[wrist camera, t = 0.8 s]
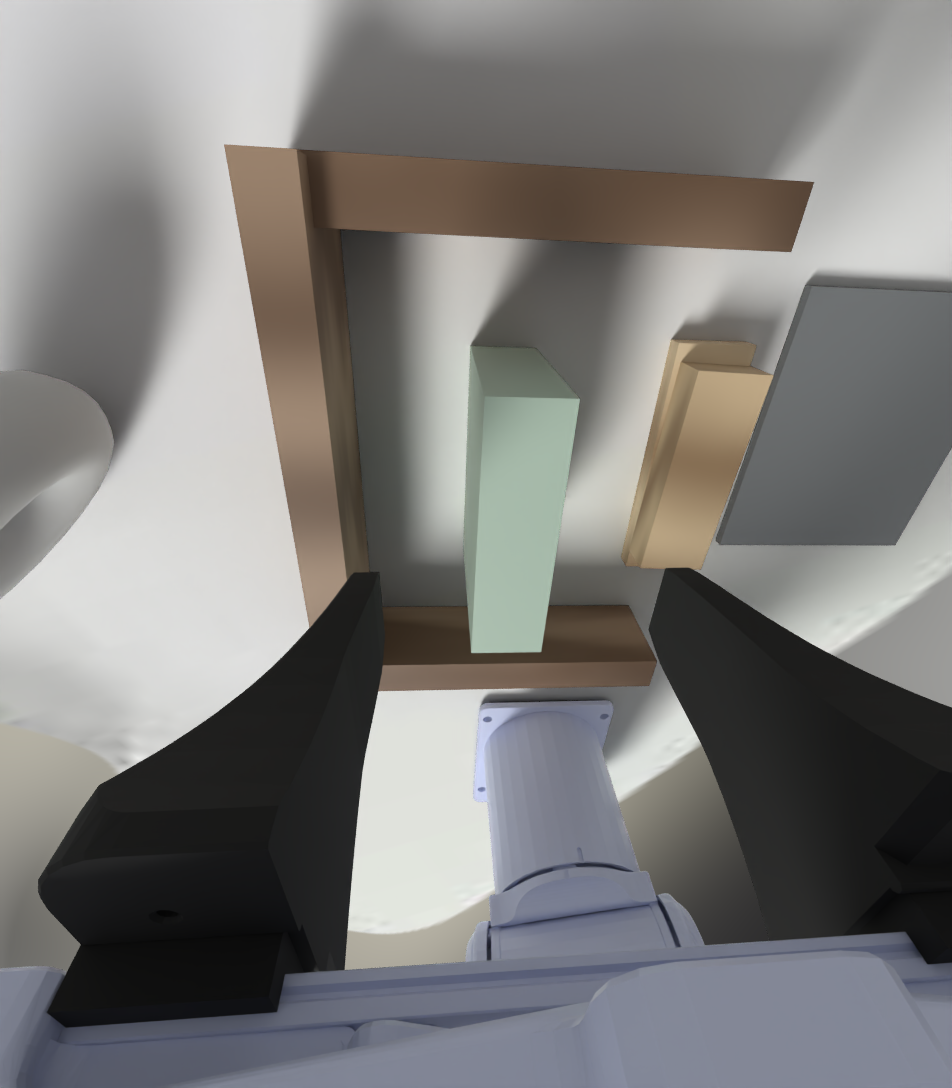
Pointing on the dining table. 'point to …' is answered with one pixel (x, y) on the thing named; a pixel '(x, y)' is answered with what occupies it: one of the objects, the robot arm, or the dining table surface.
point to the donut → (45, 466)
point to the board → (514, 493)
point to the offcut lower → (677, 353)
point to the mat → (848, 421)
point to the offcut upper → (696, 462)
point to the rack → (326, 368)
